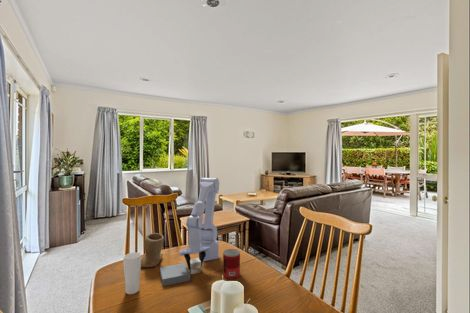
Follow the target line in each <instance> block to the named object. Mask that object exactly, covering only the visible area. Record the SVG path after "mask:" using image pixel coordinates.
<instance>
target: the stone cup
mask: <svg viewBox="0 0 470 313" xmlns="http://www.w3.org/2000/svg"><path fill="white" fill-rule="evenodd" d="M144 240H145V241H144V246H143V247H144V252H145V254H144V255H143V257H141V268H151V267H156V266H157V265H158V264H159V263H160V261H161V260H162V258H163V256H164V255H163V253H162V250H163V245H164V242H165V237H164V235H163V234H161V233H158V232H153V233H149V234H147V235H146V237H145V238H144Z"/></svg>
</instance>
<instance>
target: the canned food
mask: <svg viewBox="0 0 470 313" xmlns="http://www.w3.org/2000/svg"><path fill="white" fill-rule="evenodd" d="M222 257H223V258H222V264H223V265H222V268H223V270H222V272H223V274H222V275H223V277H224V278H226V279H229V280H235V279H237V278H239V277H240V274H241V251H240V250H239V249H236V248H229V249H226V250H224V251H223V252H222Z"/></svg>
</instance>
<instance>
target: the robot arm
mask: <svg viewBox="0 0 470 313" xmlns="http://www.w3.org/2000/svg"><path fill="white" fill-rule="evenodd" d="M199 188H200V190H199V194H198V195H199V196H198V199H197V201H196V202H195V203H194V204H193V207H192V210H191V214H190V215H189V216H187V218H186V223H185V226H186V228H187V231H188V248H185V249H181V250H179V257H183V256H184V259H185V263H186V266H187V268H188V270H190V259H191V255H197V254H198V258H199V259H200V261H201V269H202V268H203V262H207V261H213V260H218V259H220V254H219V252H220V251H219V250H220V245H219V242H218V239H217V238H218V228H217V226H216V225H215V224H214V213H215V206H216V205H215V204H216V197H217V196H216V195H217V194H218V193H219V191H220V180H219V178H218V177H201V178H200V179H199Z"/></svg>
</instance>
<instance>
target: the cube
mask: <svg viewBox="0 0 470 313" xmlns="http://www.w3.org/2000/svg"><path fill="white" fill-rule="evenodd" d="M188 270H189V269H188ZM189 272H190V275H194V274H200V273H202V268H201V261H200V259H199V257H195V258H190V270H189Z"/></svg>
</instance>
